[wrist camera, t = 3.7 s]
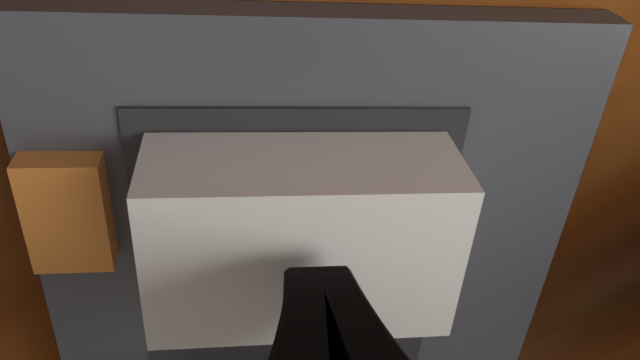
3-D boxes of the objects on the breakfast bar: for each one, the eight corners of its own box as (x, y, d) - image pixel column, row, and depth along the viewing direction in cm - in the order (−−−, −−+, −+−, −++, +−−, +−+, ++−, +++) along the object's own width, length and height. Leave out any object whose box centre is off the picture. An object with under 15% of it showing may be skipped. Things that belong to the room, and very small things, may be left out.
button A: (446, 131, 15) (485, 192, 13) (421, 263, 18) (449, 335, 15) (144, 132, 14) (126, 199, 12) (159, 272, 17) (147, 351, 14)
